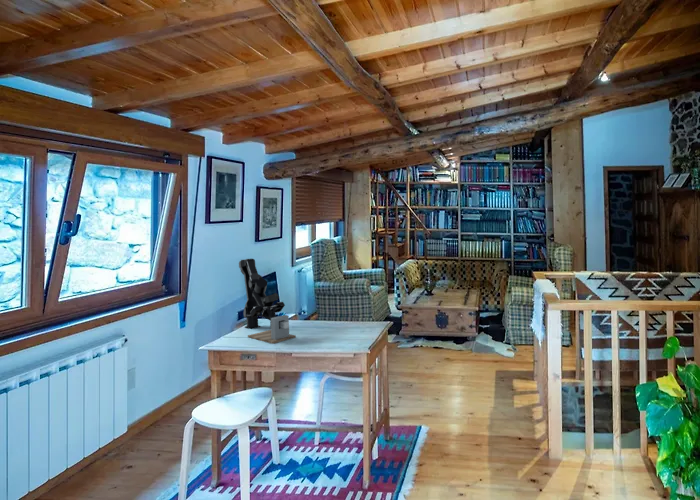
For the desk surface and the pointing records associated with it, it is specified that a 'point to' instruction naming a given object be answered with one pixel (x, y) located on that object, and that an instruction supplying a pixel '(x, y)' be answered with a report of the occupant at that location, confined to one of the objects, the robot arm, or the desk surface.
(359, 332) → the desk surface
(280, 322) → the gold rounded piece
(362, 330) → the desk surface
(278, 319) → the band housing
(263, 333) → the walnut board
